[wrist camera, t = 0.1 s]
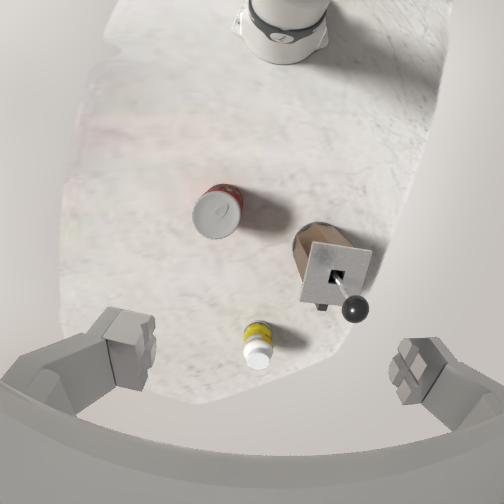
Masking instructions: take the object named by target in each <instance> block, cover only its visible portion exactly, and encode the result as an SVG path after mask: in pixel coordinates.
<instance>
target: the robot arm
mask: <svg viewBox="0 0 504 504" xmlns="http://www.w3.org/2000/svg"><path fill="white" fill-rule="evenodd" d="M330 1H331V0H244V2H243V3H242V6H241V8H240V10H239V12H238V14H237V16H236V19H235V21H234V23H233V25H232V31H233V32H234V33H235V34H236V35H237V36H239V37H240V38H242V39H243V41H244V42H245V44H246V46H247V47H248V49H249V50H250V51H251V52H252V53H253V54H254V55H256V56H257V57H259V58H260V59H262V60H264V61H267V62H270V63H275V64H292V63H296V62H299V61H301V60H303V59H305V58H306V57H308V56H309V55H310V54H311V53H312V52H314V51H315V50H318V49H321V48H324V47H326V46H327V45H328V42H329V40H328V32H327V25H326V18H325V16H326V11H327V9H326V8H327V7H328V5H329V3H330ZM238 23H240V24H238ZM323 37H324V38H323ZM154 329H155V318H154V316H153V315H148V314H143V313H138V312H133V311H129V310H123V309H120V308H115V307H107V308H106V309H105V310H104V311H103V313H102V314H101V315H100V316H99V318H98V319H97V320H96V321H95V323H94V324H93V325H92V326H91V328H90V329H89V330H88V331H87V333H86V334H84V333H80V334H77V335H75V336H72V337H69V338H67V339H64V340H62V341H59V342H56V343H54V344H51V345H48V346H46V347H43V348H40V349H38V350H35V351H32V352H30V353H27V354H24V355H22V356H20V357H19V358H18V359H17V360H16V361H15V363H14V364H13V365H12V366H11V367H10V369H9V370H8V371H7V372H6V373H5V374H4V376H3V377H2V378H1V379H0V504H504V386H503V385H501V384H499V383H498V382H496V381H494V380H492V379H490V378H489V377H487V376H485V375H483V374H481V373H480V372H478V371H476V370H474V369H473V368H471V367H469V366H467V365H466V364H464V363H462V362H458V361H457V359H456V358H455V357H454V356H453V355H452V353H451V352H450V351H449V349H448V348H447V347H446V346H445V344H444V343H443V342H442V341H441V340H440V338H437V337H428V338H410V339H403V340H402V341H401V342H400V344H399V346H398V352H399V353H398V354H397V355H396V356H395V357H393V359H392V361H391V363H390V365H389V378H390V380H391V382H392V384H394V385H395V386H396V387H398V388H397V391H396V393H397V395H398V396H399V398H400V400H401V402H402V405H409V404H418V403H422V405H423V406H424V407H425V408H426V409H427V410H428V411H430V412H431V413H432V414H433V415H434V416H435V417H436V418H438V419H439V420H440V421H441V422H442V423H443V424H444V425H445V426H447V427H448V428H449V429H450V430H451V431H452V432H451V433H447V434H444V435H440V436H437V437H433V438H429V439H425V440H421V441H417V442H413V443H408V444H404V445H399V446H394V447H388V448H382V449H376V450H369V451H362V452H354V453H344V454H332V455H316V456H261V455H260V456H259V455H244V454H232V453H222V452H214V451H205V450H199V449H193V448H186V447H180V446H175V445H170V444H165V443H160V442H156V441H152V440H147V439H143V438H140V437H136V436H132V435H128V434H125V433H121V432H118V431H114V430H111V429H108V428H105V427H102V426H99V425H96V424H93V423H90V422H88V421H85V420H82V419H79V418H77V416H76V414H77V413H79V412H80V411H82V410H83V409H85V408H86V407H88V406H89V405H91V404H92V403H94V402H95V401H96V400H98V399H99V398H101V397H102V396H104V395H105V394H107V393H108V392H110V391H111V390H112V389H114V388H115V387H116V386H119V387H124V388H128V389H132V390H137V391H142V390H143V388H144V385H145V383H146V380H147V378H148V373H147V369H149V368H151V367H152V365H153V363H154V360H155V355H156V338H155V337H154V335H153V332H154Z"/></svg>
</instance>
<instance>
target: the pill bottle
mask: <svg viewBox="0 0 504 504" xmlns="http://www.w3.org/2000/svg"><path fill="white" fill-rule="evenodd" d="M243 353H244V356H245V358H246V359H247V364H248V366H249V367H250V368H252V369H256V370H261V369H264V368H266V367H267V366H268V365H269V363H270V358H271V357H272V354H273V346H272V335H271V329H270V327H269V325H268V324H266V323H265V322H262V321H254V322H251V323H249V324H248V325H247V326H246V328H245V330H244V348H243Z"/></svg>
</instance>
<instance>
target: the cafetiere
mask: <svg viewBox="0 0 504 504" xmlns="http://www.w3.org/2000/svg"><path fill="white" fill-rule="evenodd" d="M372 253H373V252H372V251H371V250H366V249H360V248H354V247H353V246H352V245H351V244H350V243H349V242H348V241H347V240H346V239H345V238H344V237H343V236H342V234H341V233H340V232H339V231H338V230H337V229H336V228H335V227H334V226H331V225H330V224H327V223H324V222H313V223H310V224H308V225H306V226H304V227H303V228H302V229H300V230H299V232H298V233H297V234H296V236H295V238H294V241H293V256H294V259H295V262H296V264H297V267H298V270H299V273H300V276H301V278H302V281H303V285H302V289H301V293H300V297H299V301H300V302H308V303H315V304H316V307H317V310H320V311H326V310H327V307H328V305H338V306H342V305H343V303H344V301H345V300H346V299H345V297H344V296H343V294H342V292H341V290H340V289H339V287H338V285H337V283H336V282H330V281H328V280H329V276H330V273H331V269H332V270H340V271H343V274H342V278H341V279H342V281H343V282H344V284H345V286H346V287H347V289H348V290H349V292H350V294H351V295H352V296H353V295H358V296H360V293H361V290H362V286H363V283H364V280H365V277H366V273H367V270H368V267H369V263H370V260H371V256H372Z"/></svg>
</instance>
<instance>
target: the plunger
mask: <svg viewBox="0 0 504 504" xmlns="http://www.w3.org/2000/svg"><path fill="white" fill-rule="evenodd" d="M342 274H343V271H340V270H332V269H331V273H330V276H329V280H328V281H330V282H336V283H337V285H338V287H339V289H340V290H341V292H342V294H343V296H344V297H345V299H346V300H345V301H344V303H343V305H342V314H343V316H344V318H345V319H346V320H347V321H349V322H351V323H359V322H361V321H363V320H364V319H365V318H366V317H367V315H368V312H369V305H368V302H367V301H366V299H365V298H363V297H361V296H358V295H353V296H352V295H351V294H350V292H349V290H348V289H347V287H346V286H345V284H344V282H343V281H342V279H341V278H342Z"/></svg>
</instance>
